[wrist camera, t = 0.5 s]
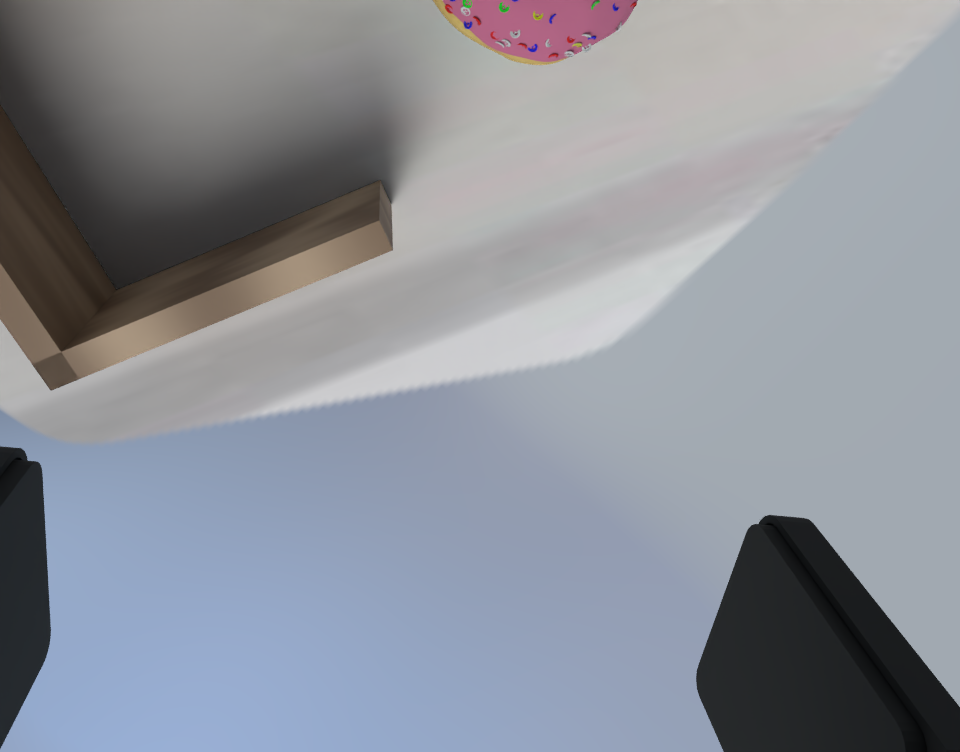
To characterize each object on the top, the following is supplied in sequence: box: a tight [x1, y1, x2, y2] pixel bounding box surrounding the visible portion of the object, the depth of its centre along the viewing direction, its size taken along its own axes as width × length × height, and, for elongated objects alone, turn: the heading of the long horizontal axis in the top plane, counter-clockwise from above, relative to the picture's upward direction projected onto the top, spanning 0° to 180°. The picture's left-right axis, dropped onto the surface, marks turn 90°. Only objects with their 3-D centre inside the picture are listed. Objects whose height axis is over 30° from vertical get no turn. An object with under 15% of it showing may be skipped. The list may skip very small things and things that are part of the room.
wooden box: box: [0, 105, 393, 390], centre depth 31 cm, size 14×15×7 cm
